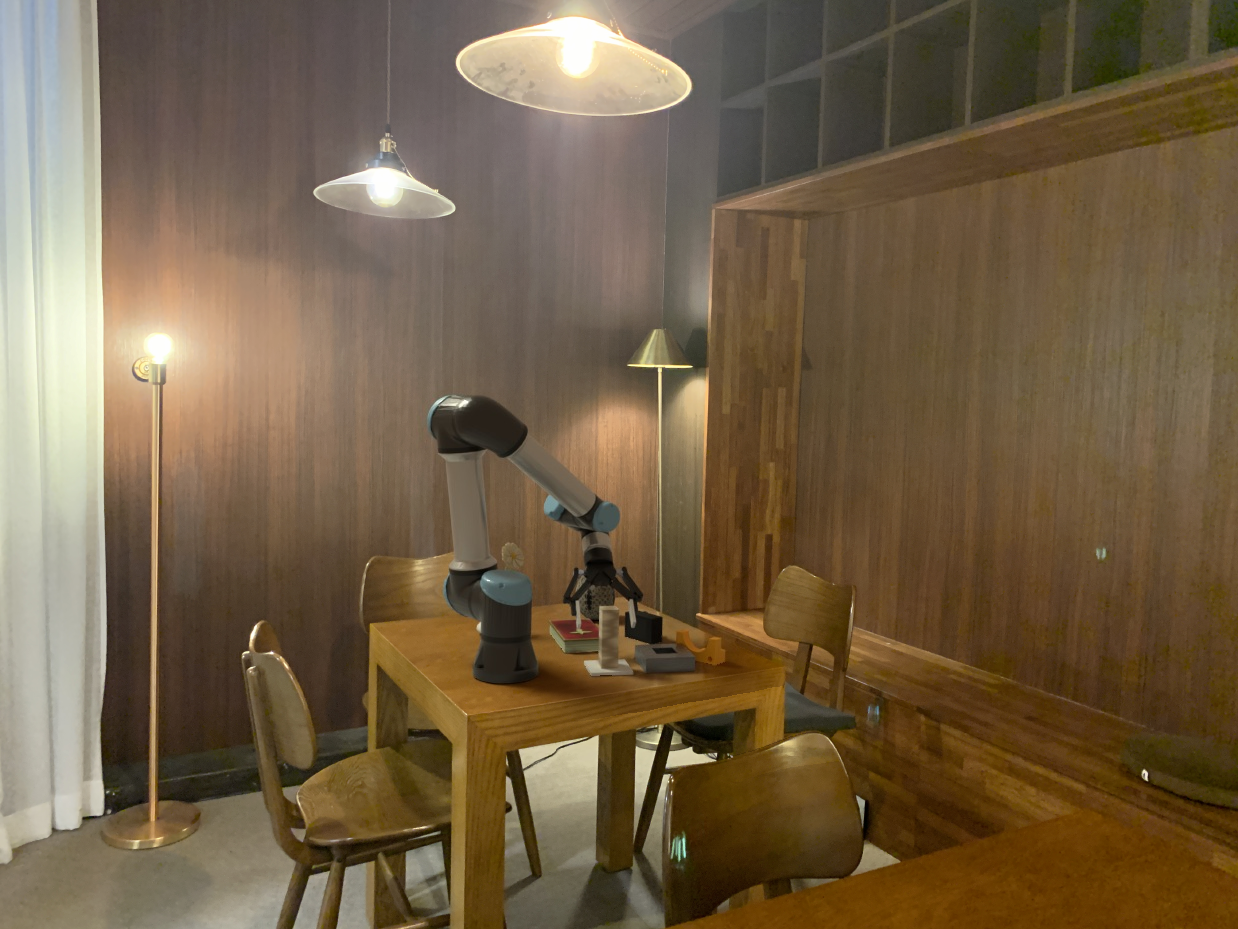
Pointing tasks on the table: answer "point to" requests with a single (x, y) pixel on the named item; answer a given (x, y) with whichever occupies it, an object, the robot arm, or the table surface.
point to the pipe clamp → (706, 655)
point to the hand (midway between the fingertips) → (606, 626)
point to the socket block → (664, 658)
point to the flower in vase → (510, 561)
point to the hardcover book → (575, 635)
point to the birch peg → (608, 636)
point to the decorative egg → (595, 599)
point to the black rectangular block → (644, 627)
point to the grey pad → (597, 671)
